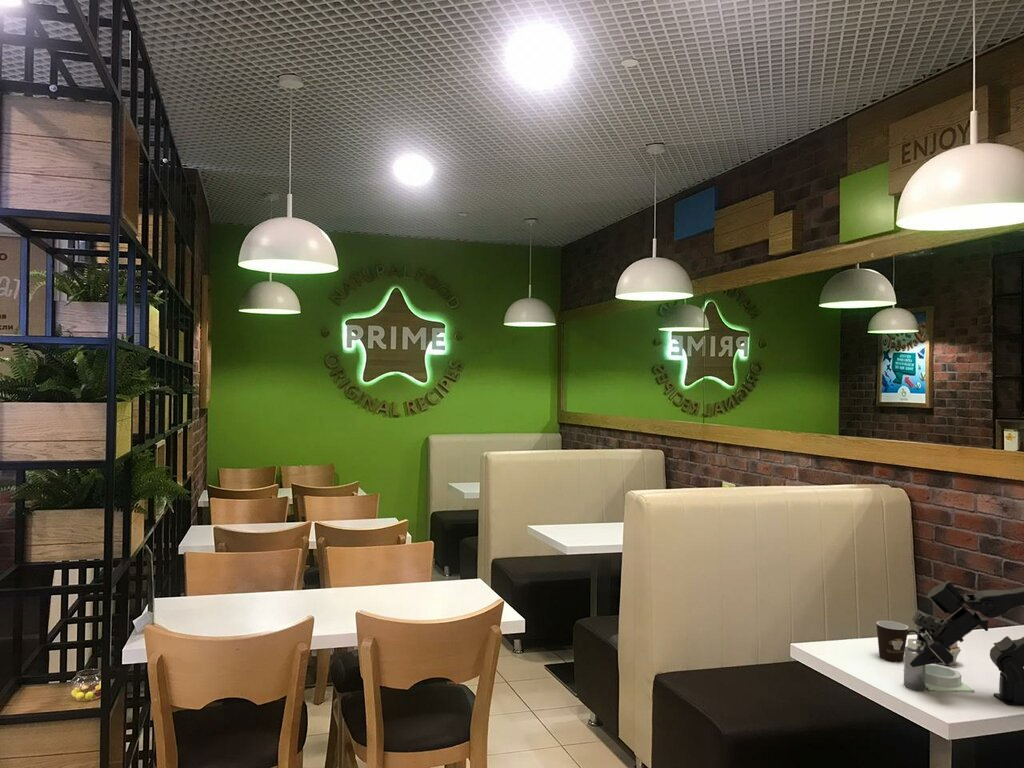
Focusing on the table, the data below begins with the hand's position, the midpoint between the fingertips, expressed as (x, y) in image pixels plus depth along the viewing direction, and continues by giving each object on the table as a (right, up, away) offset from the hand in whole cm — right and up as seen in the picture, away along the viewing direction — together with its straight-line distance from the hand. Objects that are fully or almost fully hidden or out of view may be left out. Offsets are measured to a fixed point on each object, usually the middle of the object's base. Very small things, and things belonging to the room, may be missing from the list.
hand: (909, 662), depth 209 cm
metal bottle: (+1, -7, 0) cm, 7 cm away
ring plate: (+10, -7, +4) cm, 13 cm away
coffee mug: (+7, -7, +21) cm, 24 cm away
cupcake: (+20, -8, +20) cm, 30 cm away
